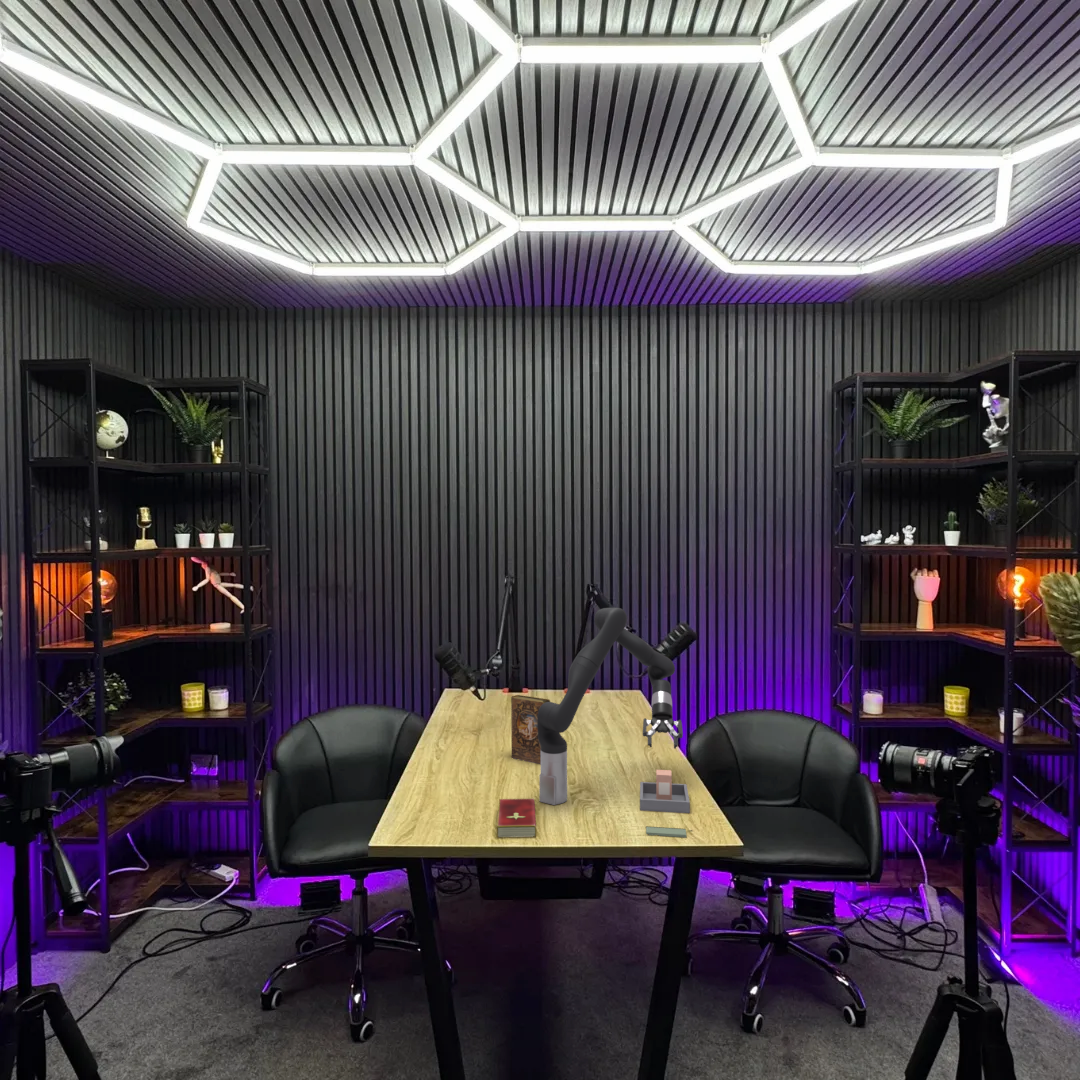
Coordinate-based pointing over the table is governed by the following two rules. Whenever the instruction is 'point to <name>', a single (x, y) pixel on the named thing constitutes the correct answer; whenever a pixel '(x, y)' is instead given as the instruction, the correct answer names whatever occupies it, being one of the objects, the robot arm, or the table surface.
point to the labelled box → (663, 784)
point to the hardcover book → (516, 818)
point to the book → (525, 728)
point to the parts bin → (675, 805)
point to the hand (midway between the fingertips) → (662, 747)
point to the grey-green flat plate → (666, 831)
